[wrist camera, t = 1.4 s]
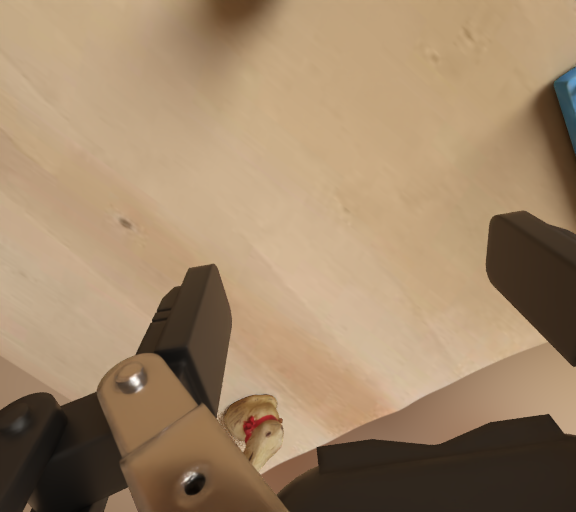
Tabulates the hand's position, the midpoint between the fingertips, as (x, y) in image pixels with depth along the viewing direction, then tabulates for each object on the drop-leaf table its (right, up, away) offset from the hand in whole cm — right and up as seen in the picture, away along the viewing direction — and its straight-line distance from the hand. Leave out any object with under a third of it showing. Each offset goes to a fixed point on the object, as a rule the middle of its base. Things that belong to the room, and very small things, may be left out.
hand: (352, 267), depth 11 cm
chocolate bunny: (-7, -20, +38) cm, 44 cm away
